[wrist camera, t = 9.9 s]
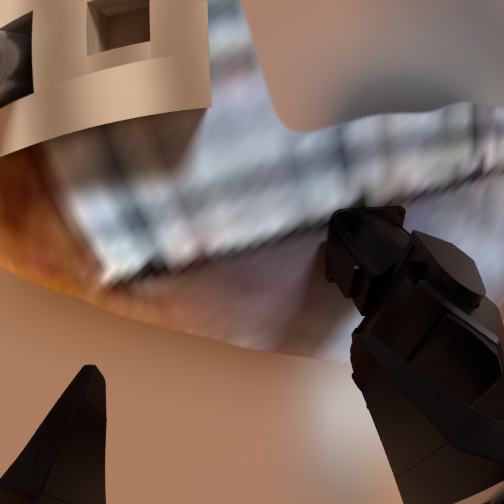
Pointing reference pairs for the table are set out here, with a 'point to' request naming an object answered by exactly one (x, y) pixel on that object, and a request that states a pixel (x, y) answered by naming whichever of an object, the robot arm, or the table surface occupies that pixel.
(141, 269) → the table surface
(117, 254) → the table surface
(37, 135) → the bore block
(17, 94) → the peg
